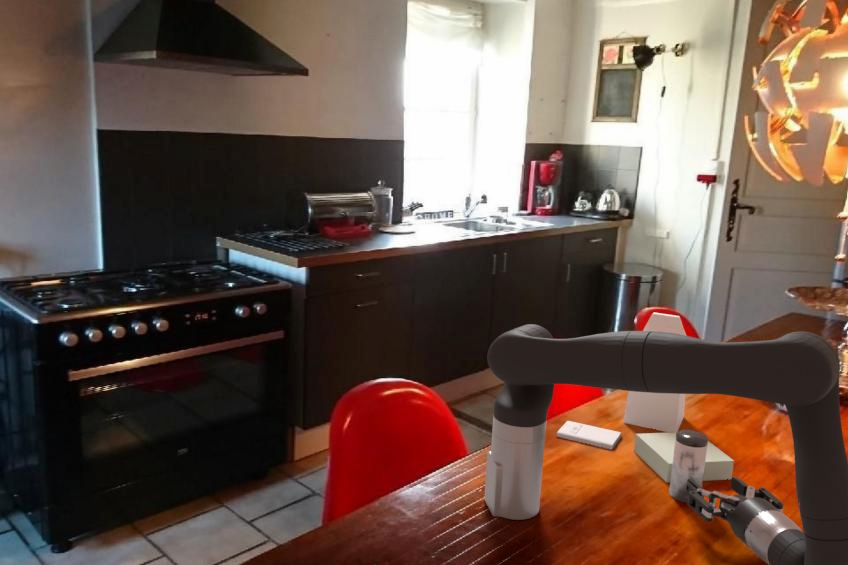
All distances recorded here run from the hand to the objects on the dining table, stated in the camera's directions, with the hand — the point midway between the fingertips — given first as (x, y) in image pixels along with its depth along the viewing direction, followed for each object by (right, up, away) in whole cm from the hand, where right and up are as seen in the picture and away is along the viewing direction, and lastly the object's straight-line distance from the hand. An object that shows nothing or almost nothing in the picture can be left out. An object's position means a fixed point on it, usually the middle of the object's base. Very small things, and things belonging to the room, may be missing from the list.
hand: (710, 482), depth 126 cm
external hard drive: (-14, 0, +33) cm, 36 cm away
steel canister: (-1, -5, +9) cm, 10 cm away
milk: (+4, +2, +44) cm, 45 cm away
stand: (+2, -2, +21) cm, 21 cm away
